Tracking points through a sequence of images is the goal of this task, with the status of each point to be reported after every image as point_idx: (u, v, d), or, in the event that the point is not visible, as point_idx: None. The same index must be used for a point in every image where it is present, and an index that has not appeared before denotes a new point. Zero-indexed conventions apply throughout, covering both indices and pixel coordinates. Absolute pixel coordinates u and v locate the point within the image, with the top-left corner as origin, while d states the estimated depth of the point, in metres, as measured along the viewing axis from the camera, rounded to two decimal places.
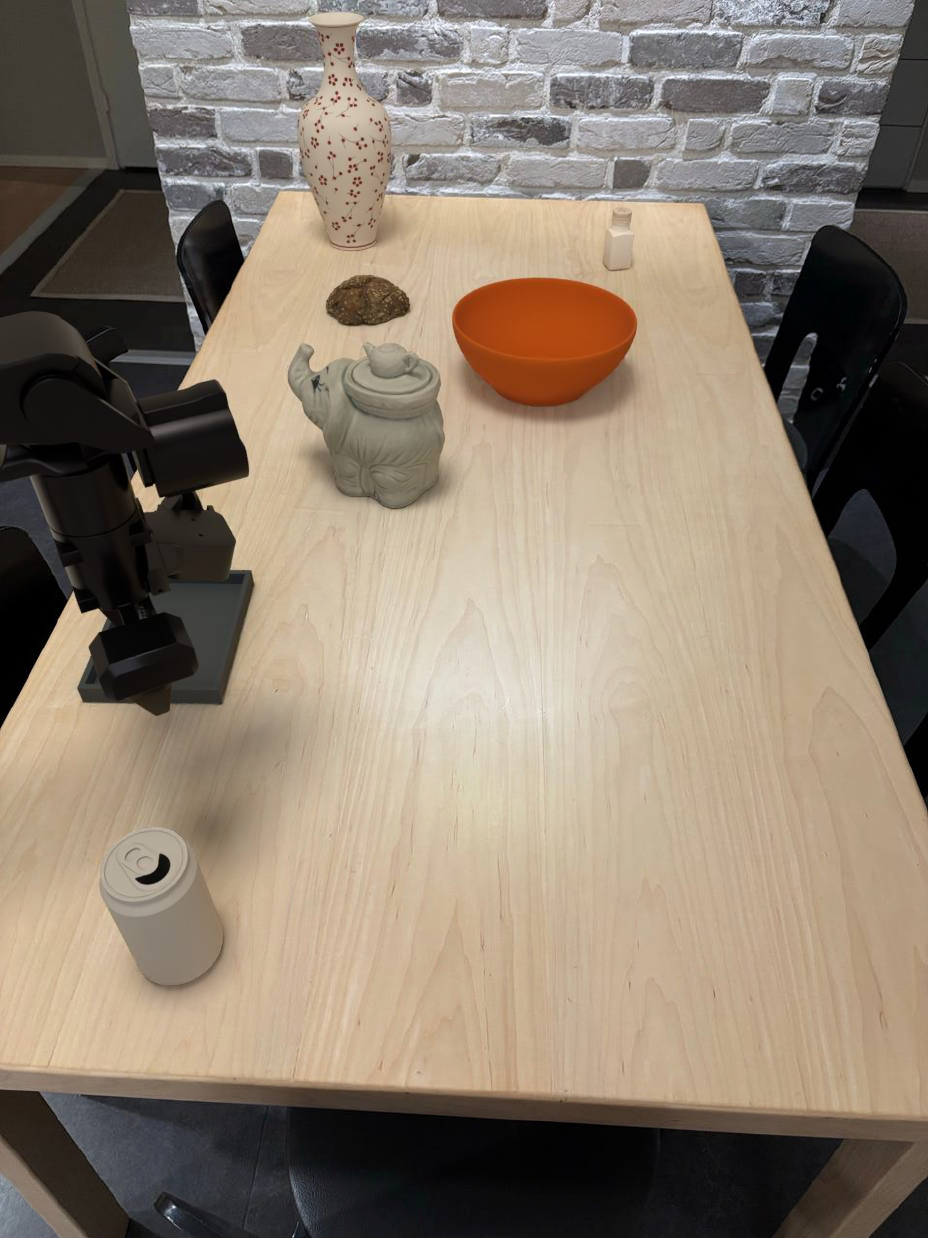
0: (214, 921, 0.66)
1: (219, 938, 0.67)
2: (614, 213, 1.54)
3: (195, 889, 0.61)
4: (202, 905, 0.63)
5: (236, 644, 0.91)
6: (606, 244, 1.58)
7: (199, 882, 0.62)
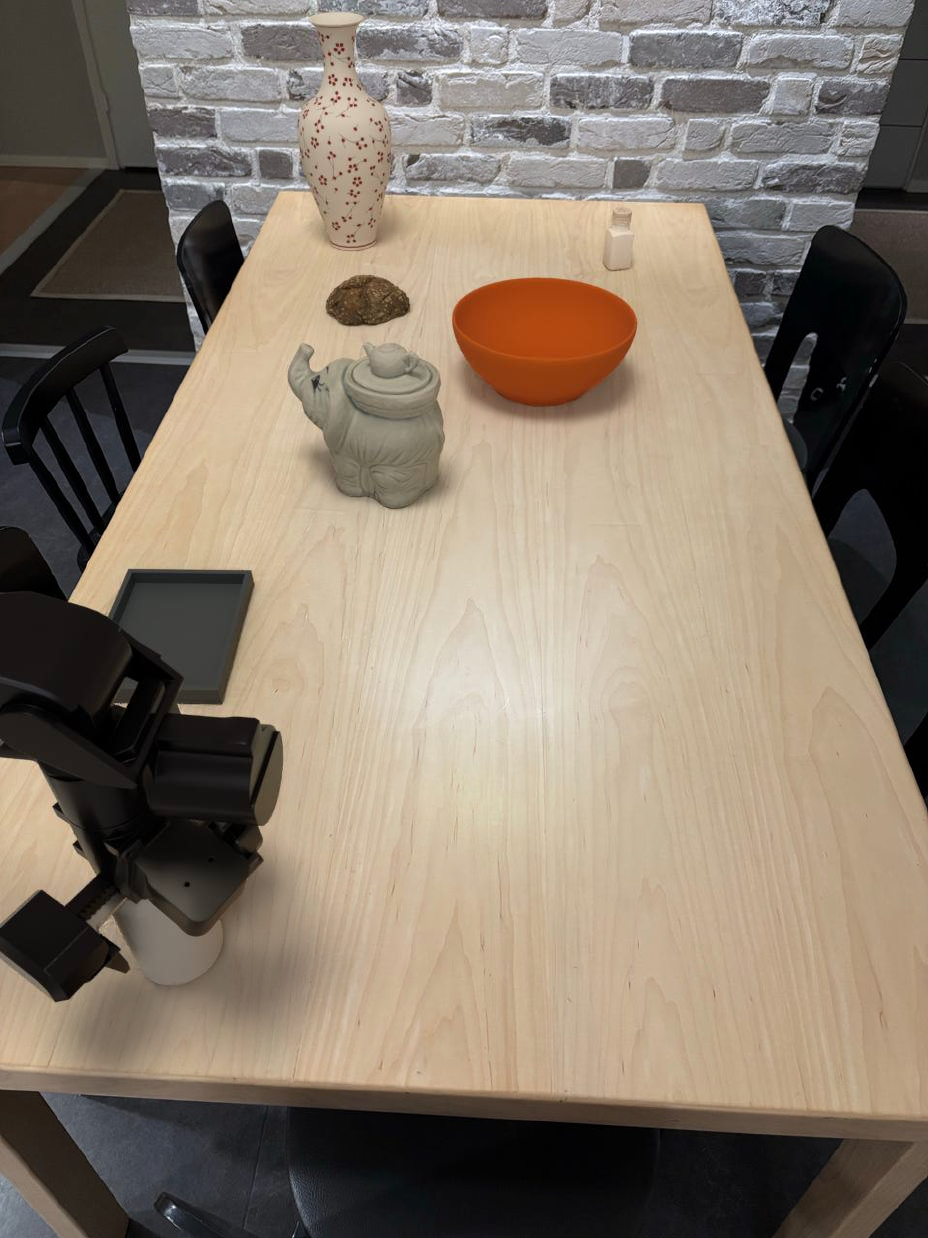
0: None
1: (219, 938, 0.67)
2: (614, 213, 1.54)
3: None
4: None
5: (236, 644, 0.91)
6: (606, 244, 1.58)
7: None
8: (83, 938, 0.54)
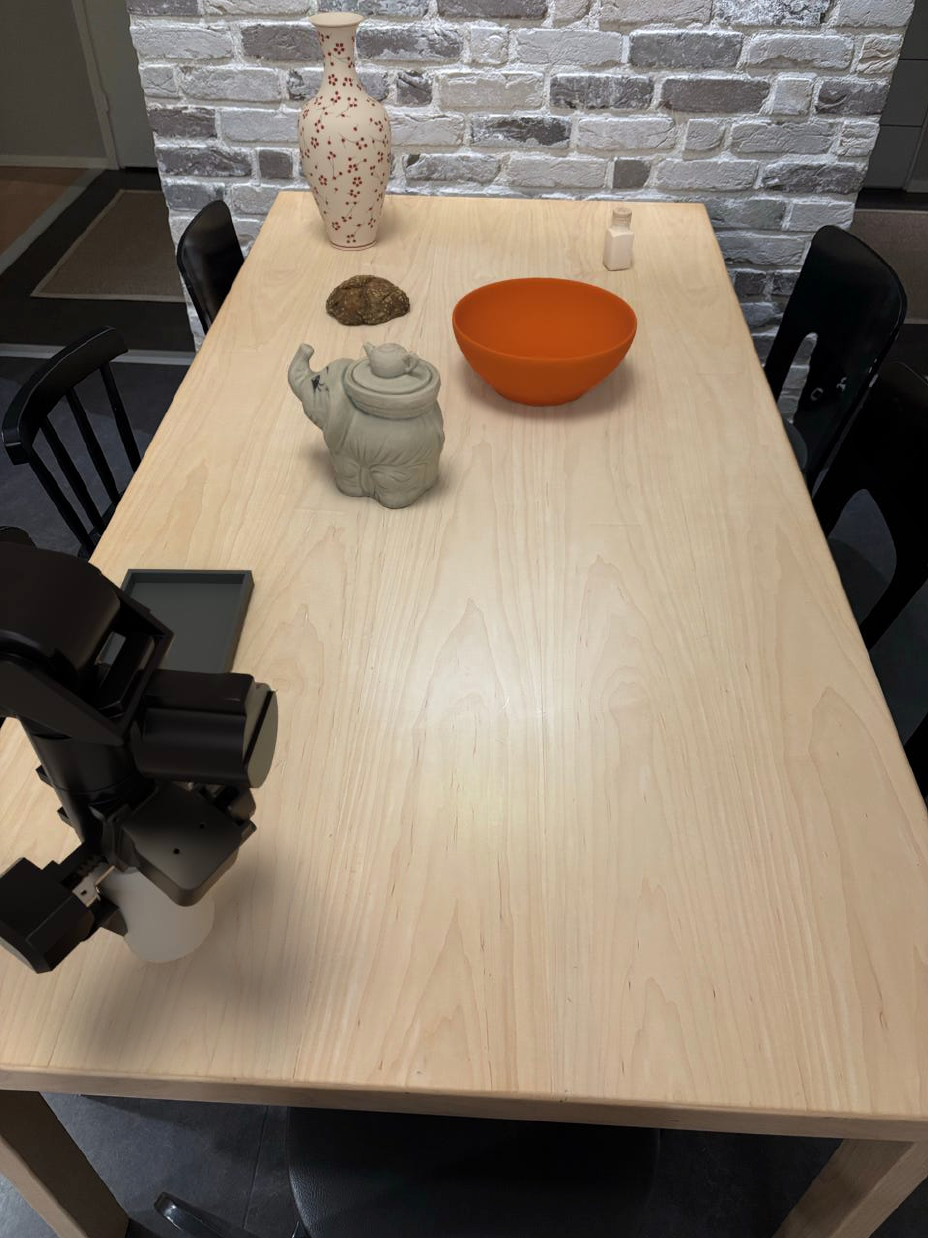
0: (205, 897, 0.63)
1: (210, 914, 0.65)
2: (614, 213, 1.54)
3: None
4: None
5: (236, 644, 0.91)
6: (606, 244, 1.58)
7: None
8: (67, 907, 0.51)
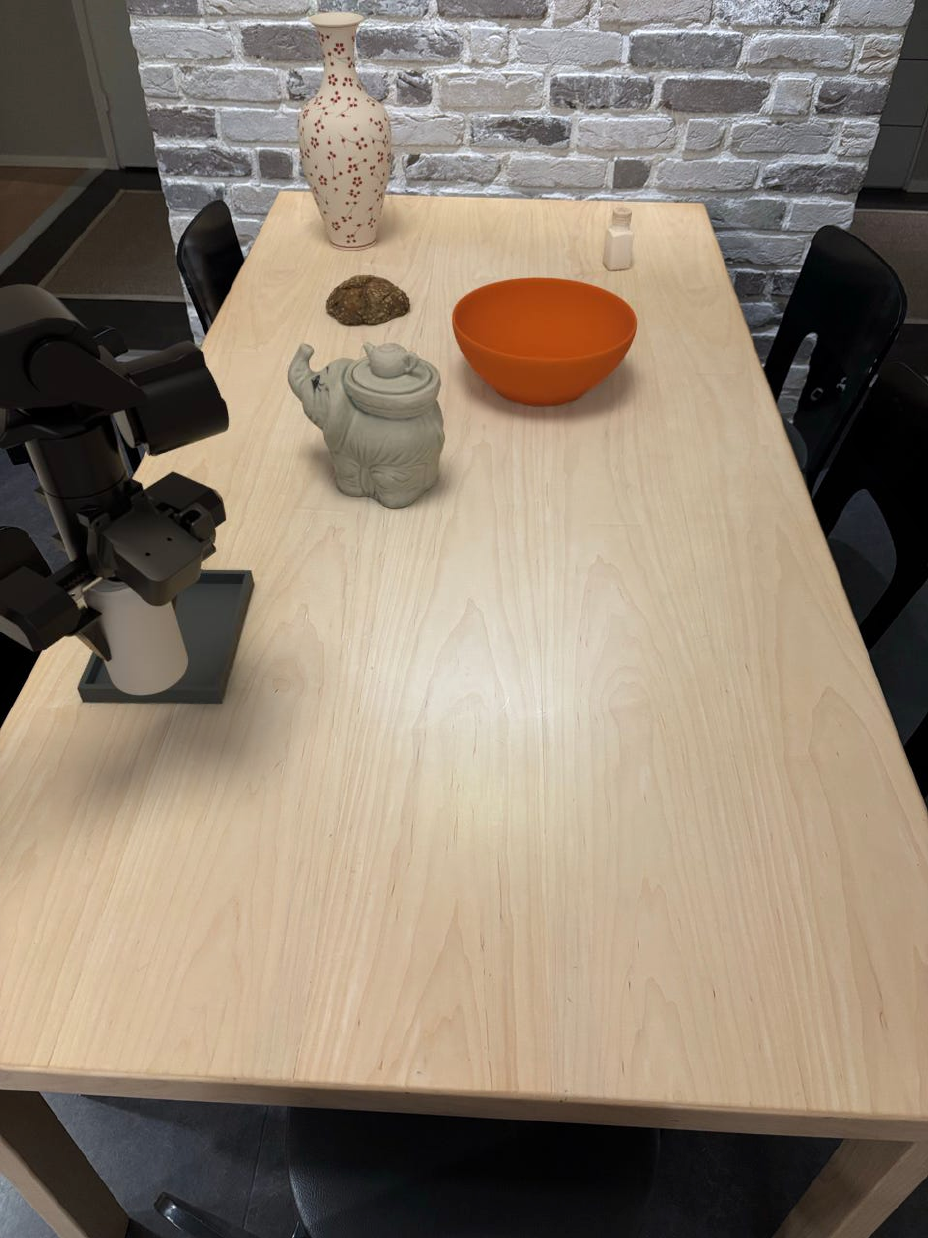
0: (178, 639, 0.75)
1: (183, 659, 0.76)
2: (614, 213, 1.54)
3: None
4: (166, 614, 0.72)
5: (236, 644, 0.91)
6: (606, 244, 1.58)
7: None
8: (58, 598, 0.63)
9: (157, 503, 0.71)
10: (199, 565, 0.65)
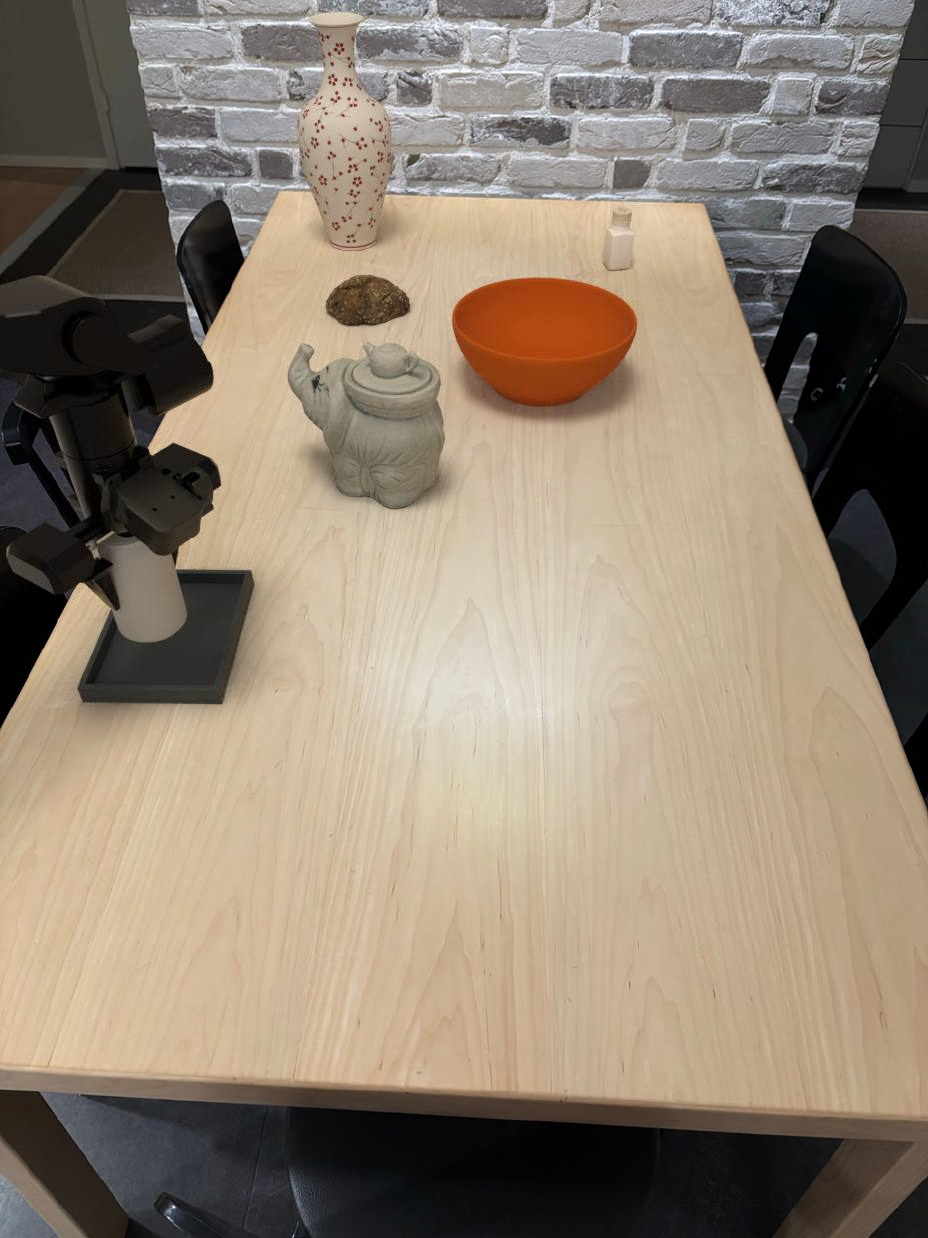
0: (179, 592, 0.84)
1: (183, 611, 0.85)
2: (614, 213, 1.54)
3: None
4: (169, 568, 0.81)
5: (236, 644, 0.91)
6: (606, 244, 1.58)
7: None
8: (76, 547, 0.72)
9: (160, 469, 0.81)
10: (199, 520, 0.75)
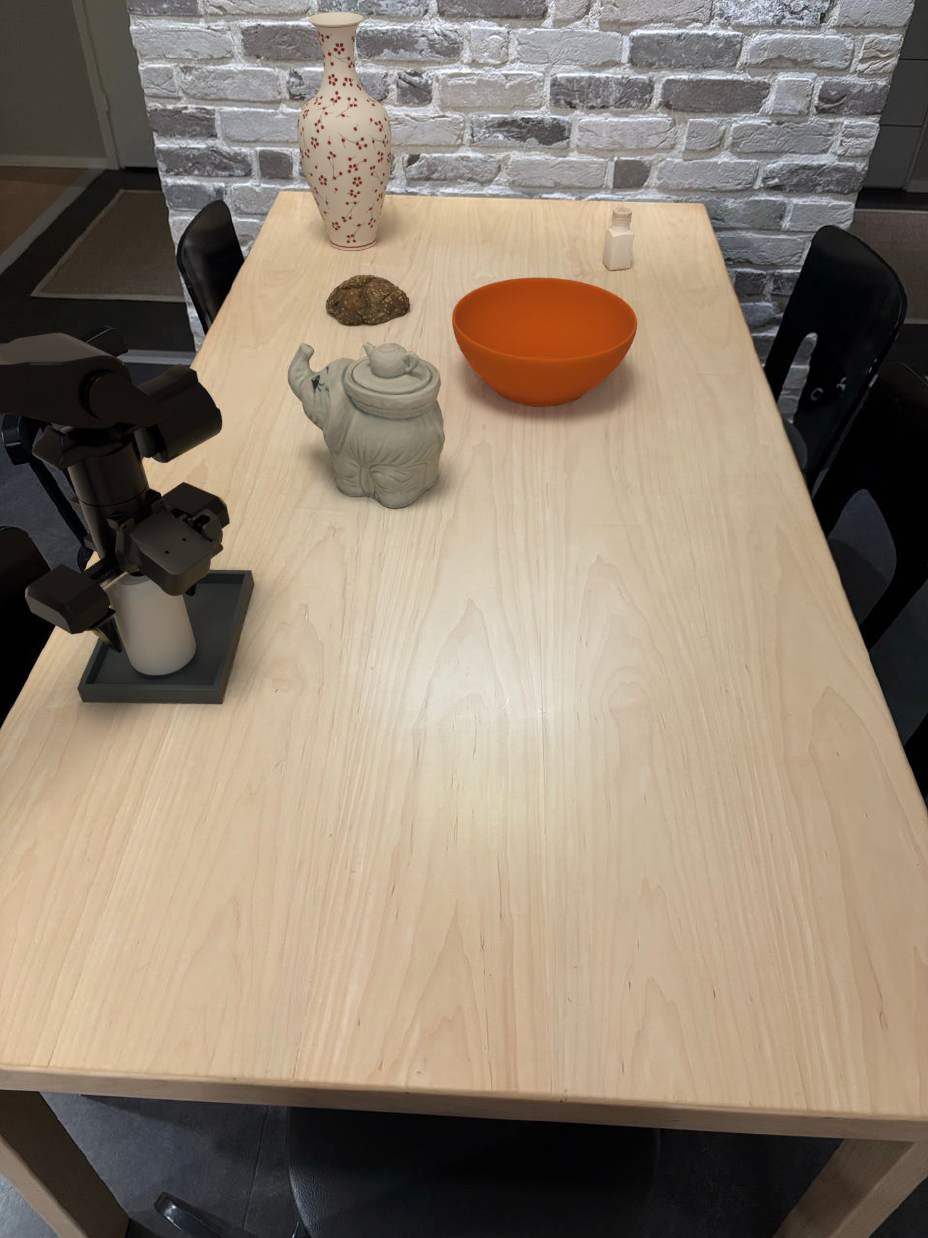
0: (188, 627, 0.87)
1: (192, 644, 0.89)
2: (614, 213, 1.54)
3: None
4: (178, 604, 0.84)
5: (236, 644, 0.91)
6: (606, 244, 1.58)
7: None
8: (92, 589, 0.75)
9: (171, 509, 0.84)
10: (209, 561, 0.78)
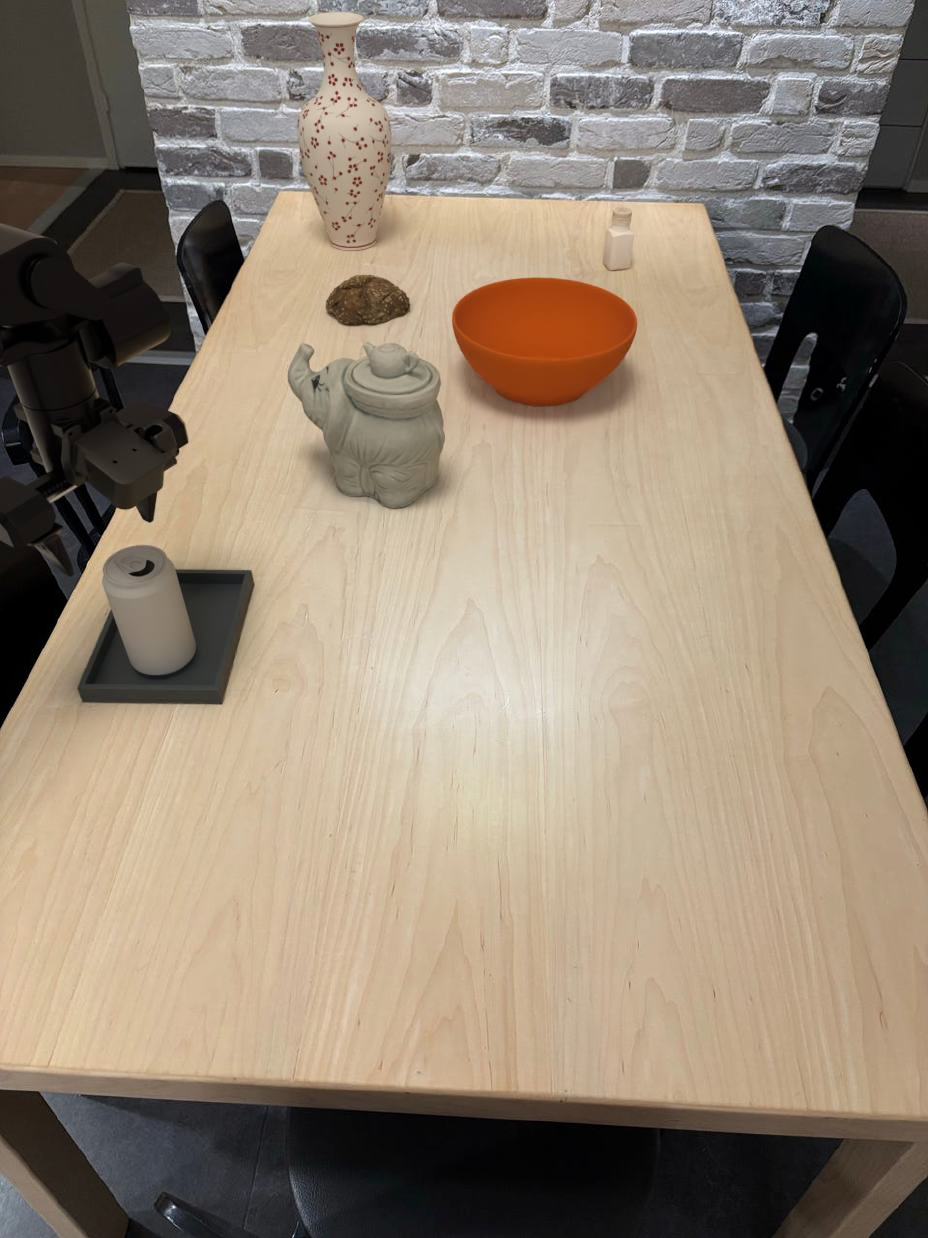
0: (188, 627, 0.87)
1: (192, 644, 0.89)
2: (614, 213, 1.54)
3: (173, 587, 0.83)
4: (178, 604, 0.84)
5: (236, 644, 0.91)
6: (606, 244, 1.58)
7: (176, 585, 0.83)
8: (35, 500, 0.71)
9: (125, 426, 0.79)
10: (161, 474, 0.73)
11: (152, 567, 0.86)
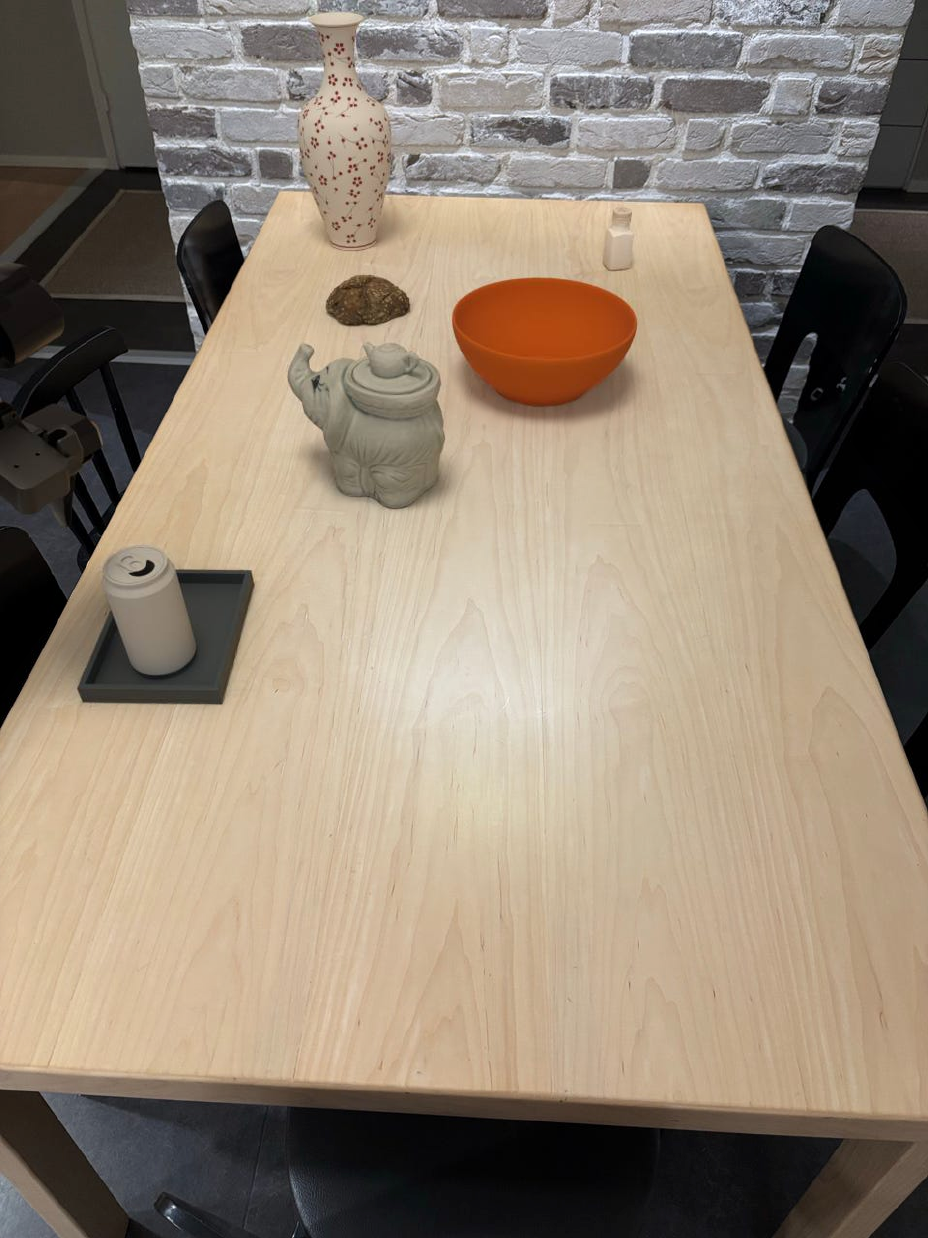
0: (188, 627, 0.87)
1: (192, 644, 0.89)
2: (614, 213, 1.54)
3: (173, 587, 0.83)
4: (178, 604, 0.84)
5: (236, 644, 0.91)
6: (606, 244, 1.58)
7: (176, 585, 0.83)
8: None
9: (36, 430, 0.79)
10: (66, 478, 0.73)
11: (152, 567, 0.86)
